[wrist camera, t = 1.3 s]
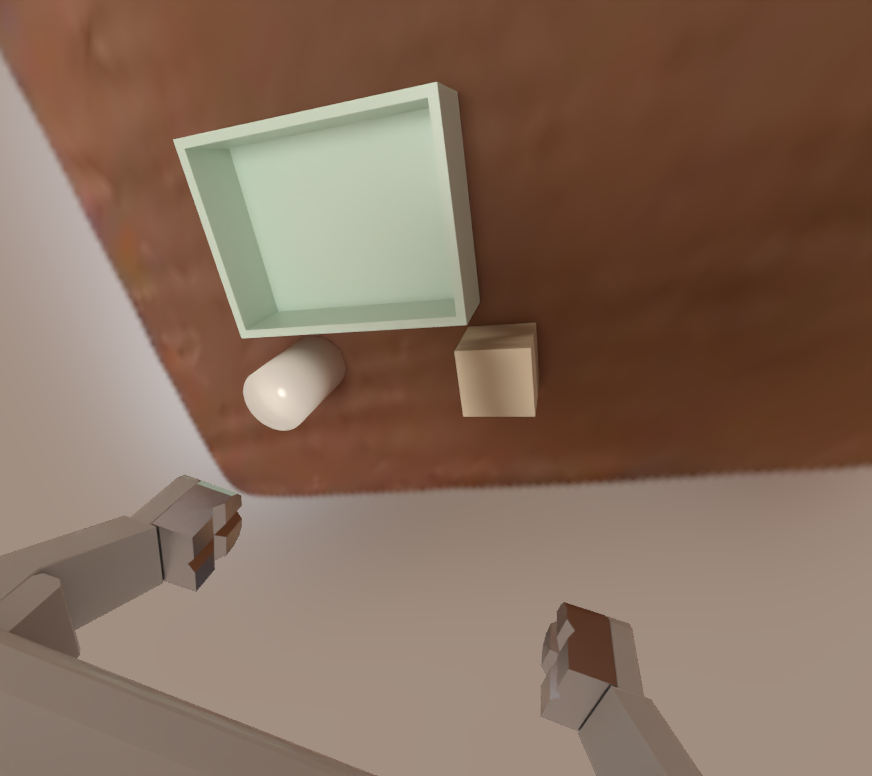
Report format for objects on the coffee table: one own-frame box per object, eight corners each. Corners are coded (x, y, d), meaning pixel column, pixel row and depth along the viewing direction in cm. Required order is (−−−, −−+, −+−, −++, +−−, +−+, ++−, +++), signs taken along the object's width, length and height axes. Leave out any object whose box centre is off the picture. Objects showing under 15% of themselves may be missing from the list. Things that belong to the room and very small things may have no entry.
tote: (457, 91, 28) (436, 81, 24) (480, 302, 34) (466, 325, 29) (224, 140, 33) (173, 139, 29) (278, 317, 39) (241, 338, 34)
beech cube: (536, 322, 33) (530, 347, 29) (539, 384, 36) (535, 416, 31) (468, 326, 35) (454, 351, 31) (475, 385, 37) (463, 416, 33)
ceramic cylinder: (337, 334, 38) (294, 369, 32) (351, 388, 40) (312, 430, 34) (285, 337, 39) (234, 371, 33) (301, 389, 42) (255, 430, 36)
